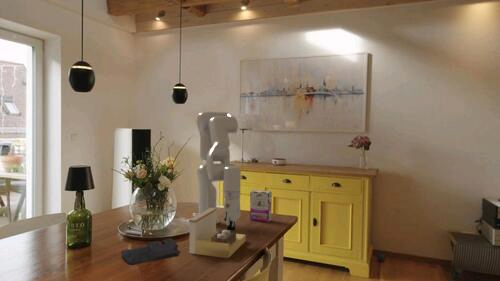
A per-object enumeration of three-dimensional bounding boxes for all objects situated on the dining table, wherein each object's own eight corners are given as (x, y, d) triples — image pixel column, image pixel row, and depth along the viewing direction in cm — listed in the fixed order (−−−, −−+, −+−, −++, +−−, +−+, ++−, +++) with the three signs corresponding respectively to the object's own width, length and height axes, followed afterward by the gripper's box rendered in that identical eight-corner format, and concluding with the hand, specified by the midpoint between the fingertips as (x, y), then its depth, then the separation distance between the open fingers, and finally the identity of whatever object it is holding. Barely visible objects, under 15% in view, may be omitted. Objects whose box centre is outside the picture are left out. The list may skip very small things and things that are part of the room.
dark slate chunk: (117, 255, 145) (117, 243, 145) (168, 245, 158) (168, 234, 158) (129, 267, 133) (129, 255, 133) (183, 255, 146) (183, 244, 146)
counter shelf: (188, 253, 147) (188, 219, 146) (210, 237, 169) (210, 207, 168) (227, 258, 142) (228, 223, 141) (245, 241, 163) (245, 210, 163)
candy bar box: (271, 220, 199) (272, 191, 199) (268, 222, 195) (269, 192, 194) (253, 218, 204) (253, 189, 203) (249, 220, 199) (250, 191, 198)
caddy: (211, 247, 145) (211, 236, 145) (221, 238, 157) (221, 228, 157) (226, 249, 144) (226, 238, 143) (235, 240, 155) (236, 229, 155)
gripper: (234, 198, 149) (233, 241, 150) (245, 191, 163) (244, 231, 164) (217, 197, 151) (216, 239, 152) (229, 190, 165) (229, 229, 166)
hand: (231, 235), depth 158 cm, fingers closed
